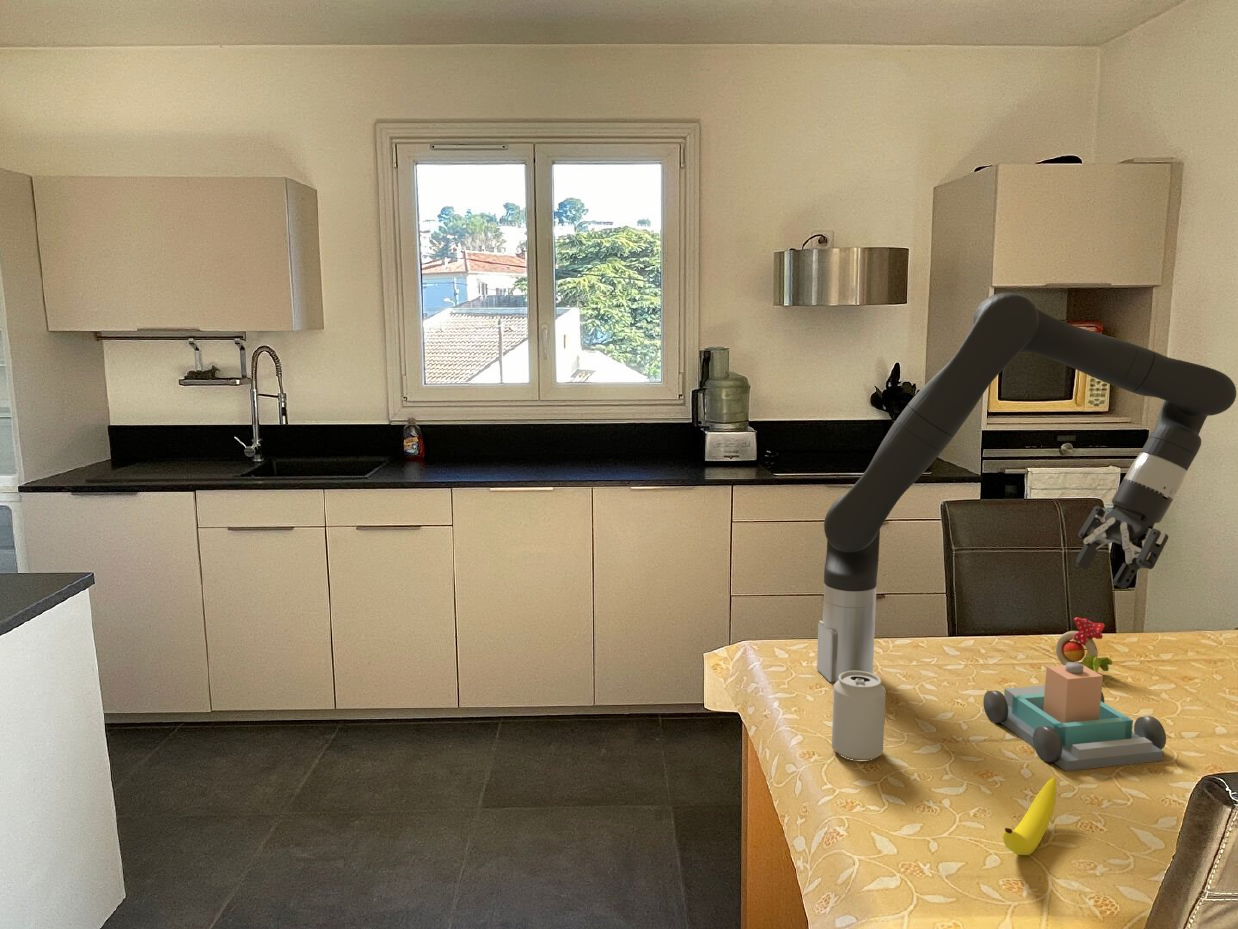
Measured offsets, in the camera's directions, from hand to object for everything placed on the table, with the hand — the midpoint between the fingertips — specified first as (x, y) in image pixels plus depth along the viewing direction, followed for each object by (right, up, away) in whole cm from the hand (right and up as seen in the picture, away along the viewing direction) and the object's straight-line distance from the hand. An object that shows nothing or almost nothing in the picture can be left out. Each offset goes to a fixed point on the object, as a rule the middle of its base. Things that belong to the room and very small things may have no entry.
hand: (1099, 576), depth 145 cm
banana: (-26, -29, -33) cm, 51 cm away
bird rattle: (+7, -20, +19) cm, 29 cm away
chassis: (-7, -24, -4) cm, 26 cm away
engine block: (-7, -23, -5) cm, 24 cm away
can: (-42, -26, -9) cm, 50 cm away
